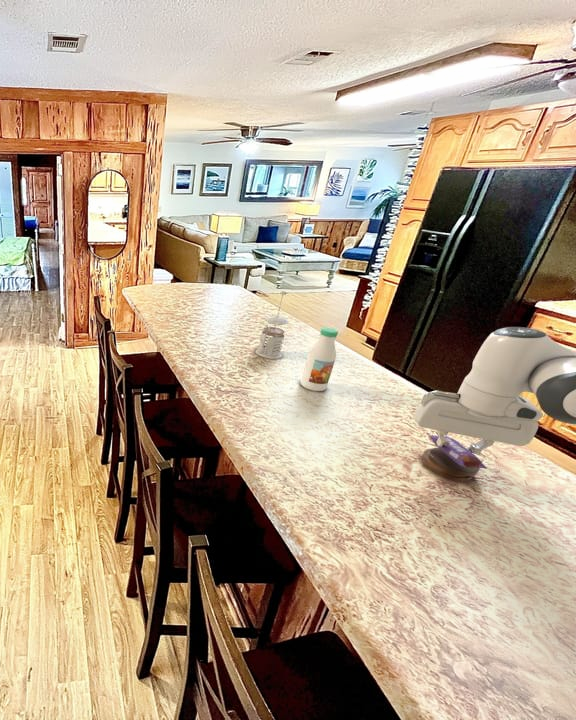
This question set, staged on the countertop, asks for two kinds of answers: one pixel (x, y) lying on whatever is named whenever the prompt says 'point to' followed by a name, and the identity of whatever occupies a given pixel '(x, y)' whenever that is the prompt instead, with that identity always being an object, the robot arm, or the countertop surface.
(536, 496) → the countertop surface
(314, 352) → the milk bottle
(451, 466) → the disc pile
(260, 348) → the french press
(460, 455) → the snack package
